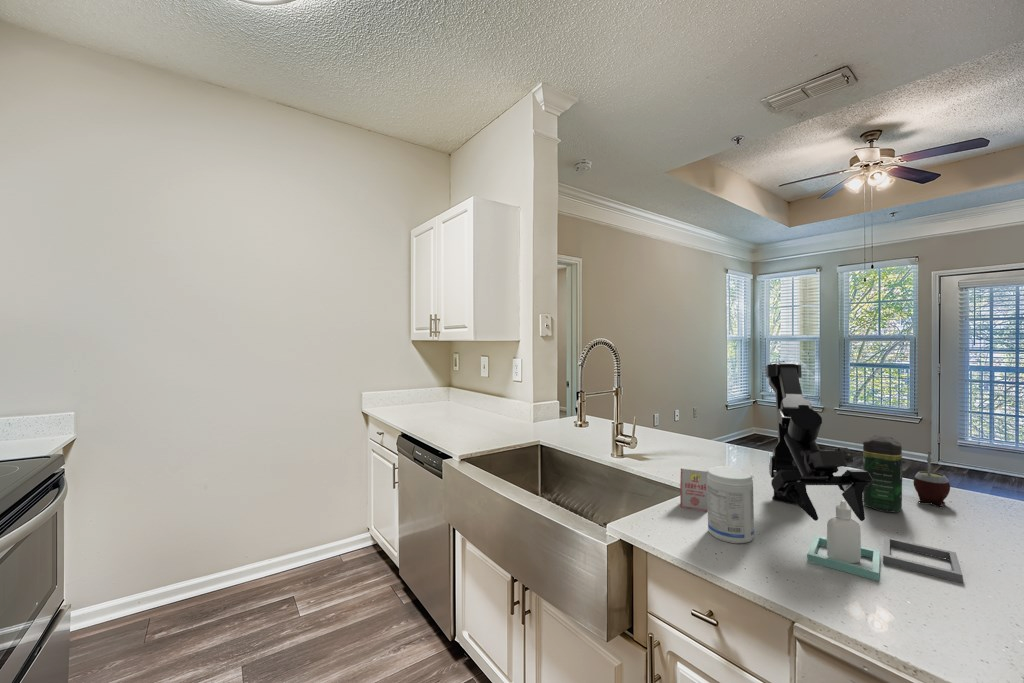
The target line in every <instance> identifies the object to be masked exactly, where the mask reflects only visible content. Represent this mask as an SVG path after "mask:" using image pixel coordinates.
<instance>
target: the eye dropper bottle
mask: <svg viewBox="0 0 1024 683" xmlns="http://www.w3.org/2000/svg"><path fill="white" fill-rule="evenodd" d="M826 522H827V523H826V538H827V547H826V557H828V558H832V559H836V560H839V561H843V562H847V563H851V564H857V563H860V562H861V561H862V560H861V559H862V556H861V546H862V544H861V537H862V536H861V535H862V534H861V525H860V523H859V522H857V521H855V520H854V519H852V509H851V507H850V506H849V507H848V506H847V502H846V500H845V499H844V500H843V499H842V500H840V503H839V505H836V506H835V516H834V517H832V518H830V519H828V520H827V521H826Z"/></svg>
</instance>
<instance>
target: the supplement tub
mask: <svg viewBox="0 0 1024 683" xmlns="http://www.w3.org/2000/svg"><path fill="white" fill-rule="evenodd" d="M707 471H708V475H707V503H708V511H707V529H708V532H709V534H710V535H711V536H713V537H715V538H716V539H717V540H720V541H723V542H726V543H730V544H731V543H732V544H747V543H749V542H751V541H752V540H753V539H754V537H755V520H754V519H755V518H754V517H755V514H754V513H755V512H754V507H755V506H754V480H753V474H752V473H751V472H750V471H748V470H745V469H743V468H740V467H734V466H725V465H721V466H720V465H719V466H711V467H709V468H708V469H707Z"/></svg>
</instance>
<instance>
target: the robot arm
mask: <svg viewBox="0 0 1024 683" xmlns="http://www.w3.org/2000/svg"><path fill="white" fill-rule="evenodd" d="M802 374H803V373H802V365H801V364H798V363H797V362H794V361H793V362H791V361H790V362H789V361H787V362H785V361H781V362H780V361H779V362H770V363H769V364H767V365H766V366H765V377H766V378H767V379H768V386H770V388H771V389H772V390H773V392H774V393H775V408H776V425H777V444H776V446H775V447H774V448H773V450H772V455H770V457H769V465H768V470H769V471H768V473H769V475H770V478H771V483H770V484H771V487H772V489H773V495H772V500H775V501H779V502H784V503H788V504H793V505H797V506H798V507H799V508H800V509H802V511H804V513H805V514H807V516H808V517H810V518H811V519H812V520H813V521H815V522H816V521H817V522H818V520H819V515H818V513H817V510H816V509H815V506H814V505H813V502H812V500H811V498H810V496H809V494H808V491H807V486H837V487H838V488H839V490H841V491H842V493H841V496H842V497H843V498H844V501H845V502H846V504H848V506H849V508H850V509H851V511H852V512H853V513H854V515H855V516H856V517H857V518H858V520H859V521H860V522H864V521H866V514H865V508H864V507H865V506H864V502H863V490H864V489H866V488H867V487H868V486H869V485H870V484H871V483H872V482H873V481H874V480H873V479H872V477H871V475H870V474H869V473H868V472H867V471H865V470H863V469H847V470H845V472H844V473H842V474H841V475H834V474H836V473H838V471H839V468H840V467H844V468H845V467H848V464H850V463H853V462H854V458H853V454H852V452H851V451H850V450H849V448H848V447H838V448H834V450H825V449H820V447H819V445H818V442H817V441H816V440H817V439H818V436H819V432H820V429H821V426H822V424H823V417H822V416H821V415H820V414H819V413H818V412H817V411H816V410H814V409H813V406H812V403H811V401H810V400H808V399H806V398H805V397H804V396H803V395H804V394H803V391H802V387H801V383H800V379H801V378H803V377H802Z"/></svg>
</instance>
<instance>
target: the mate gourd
mask: <svg viewBox="0 0 1024 683" xmlns="http://www.w3.org/2000/svg"><path fill="white" fill-rule="evenodd" d="M931 457H932V452H931V451H928V452H927V458H926V461H927V471H926V470H925V471H923V470H920V471H918V472H916V474H915V475H914V478H913V486H914V488H915V491H916V493H917V495H918V499H919V500H918V502H920V503H919V504H921V503H932V504H931V505H933V504H934V505H933V506H935V505H936V507H937V506H938V508H940V507H942V508H941V509H943V508H944V505H945V504H946V501H945V499H946V498H947V497H948V496H949V494H950V491H951V484H950V481H949V479H948V478H947V477H946V475H944V474H941V473H939V472H934V471H931V467H932V466H931V465H932V464H931V463H932V458H931ZM918 502H917V503H918Z"/></svg>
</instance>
